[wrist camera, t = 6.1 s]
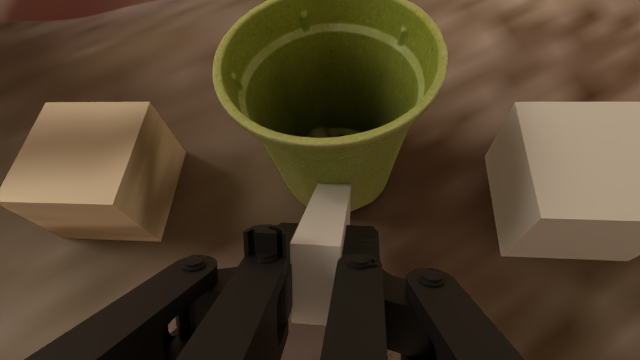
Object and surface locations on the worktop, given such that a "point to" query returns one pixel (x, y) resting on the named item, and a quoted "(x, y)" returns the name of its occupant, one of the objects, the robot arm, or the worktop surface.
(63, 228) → the birch block
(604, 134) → the grey block
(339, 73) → the plant pot
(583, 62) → the worktop surface
